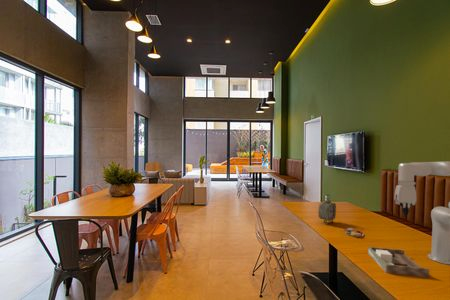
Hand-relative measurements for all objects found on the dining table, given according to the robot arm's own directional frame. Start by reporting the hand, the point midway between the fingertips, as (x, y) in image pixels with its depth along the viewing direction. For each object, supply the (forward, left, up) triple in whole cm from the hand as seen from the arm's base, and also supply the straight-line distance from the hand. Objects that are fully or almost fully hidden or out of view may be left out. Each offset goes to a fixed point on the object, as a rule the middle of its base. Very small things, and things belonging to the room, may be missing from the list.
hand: (405, 214), depth 147 cm
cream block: (+15, +10, -25) cm, 30 cm away
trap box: (+9, +10, -27) cm, 30 cm away
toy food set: (+16, -36, -27) cm, 48 cm away
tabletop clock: (+30, -60, -27) cm, 73 cm away
